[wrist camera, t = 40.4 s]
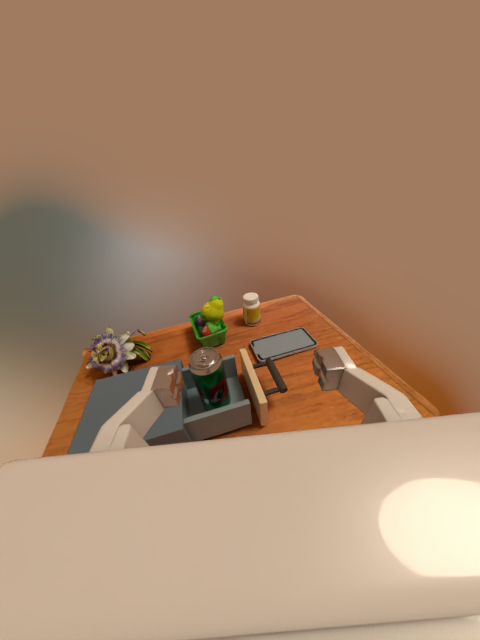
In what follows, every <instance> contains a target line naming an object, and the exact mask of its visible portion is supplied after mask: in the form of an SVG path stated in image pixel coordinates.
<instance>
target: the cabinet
mask: <svg viewBox="0 0 480 640" xmlns="http://www.w3.org/2000/svg"><path fill="white" fill-rule="evenodd" d="M168 365H178V367H179V372H180V373H181V374H182V368H184V366H183V364H182V361H181V359H177V360H173V361H169V362H165V363H162V364H158V365H154V366H150V367H146V368H142V369H138V370H134V371H130V372H126V373H122V374H118V375H115V376H111V377H107V378H103V379H99V380H96V381H95V383H94V386H93V388H92V391H91V394H90V396H89V399H88V401H87V404H86V407H85V409H84V412H83V414H82V417H81V419H80V422H79V425H78V427H77V430H76V432H75V435H74V438H73V440H72V443H71V445H70V448H69V450H68V453H67V455H69V454H78V453H88V452H89V451H90V449H91V447H92V445H93V442H94V440H95V438H96V436H97V434H98V432H99V430H100V428H101V426H102V425H103V424H104V423H105V422H106V421H107V420H109V419H110V418H111V417H112V416H113V415H114V414H115V413H116V412H117V411H118V410H119V409H120V408H121V407H122V406H123V405H125V404H126V403H127V402H128V401H129V400H130V399H131V398H132V397H133V396H134V395H135V394H136V393H137V392H139V391H141V390H142V387H143V384H144V382H145V379H146V377H147V374H148V372H149V369H150V368H151V367H158V366H168ZM180 395H181V399H180V403H179V406H177V407H169V408H164V411H163V412H162V413H161V415H160V416H159V417H158V419H157V420H156V421H155V423H154V424H153V425H152V427H151V428H150V429H149V431H148V432H147V433H146V435H145V436H144V437H143V439H144V440H145V441H146V442H147V444H148V445H149V446H156V445H166V444H176V443H186V442H192V440H191V438H190V436H189V434H188V433H187V431H186V429H185V427H184V413H183V389H182V390H181V391H180Z"/></svg>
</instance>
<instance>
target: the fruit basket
mask: <svg viewBox="0 0 480 640" xmlns="http://www.w3.org/2000/svg"><path fill="white" fill-rule="evenodd" d="M223 306H224V303H223V301H222V300H221V298H220V297H217V296H213V297H212V298H211V299H210V301H209V302H208V303H206V304H205V305H204V306H203V308H202V311H200V312H197V313H193V314H191V315H189V318H190V321H191V323H192V326H193V330H194V332H195V335H196V338H197V339H198V340H199V341H200V343H201V344H202V345H203V347H211V348H212V347H215V346H218V345H220V344H224V342H225V335H226V331H227V327H226V325H225V323H224V322H223V320H222V317H223V315H224V310H223Z"/></svg>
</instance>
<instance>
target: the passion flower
mask: <svg viewBox="0 0 480 640" xmlns="http://www.w3.org/2000/svg"><path fill="white" fill-rule="evenodd" d="M136 331H137V330H136ZM136 331H135V332H136ZM135 332H134V333H135ZM138 332H140V333H142V334H143V335H144V336H145V335H146V334H145V333H144V332H142V331H140V330H139V329H138ZM134 333H133V334H134ZM133 334H132V335H133ZM129 336H130V332H125V333H123V334H122V335H120V336H118V337H116V338H115V336H114V332H113V330H112V328H109V327H108V328H107V329H106V331H105V334H104V335H101V336H99V335H97V336H96V338H92V340H95V341H94V342H95V343H94V344H93V345H91V346H92V347H91V348H90V351H88V352H92V355H91V356H90V357H89V362H88V363H87V365H86V368H93V367H95V368H97V369H98V370H103V372H104V374H107V373H112V375H113V376H115V375H118V374H119V369H120V370H121V371H122V372H124V373H126V372H128V370H129V366H128V363H127V360H131V359H135V358H136V355H138V356H139V357H140V358H142V359H143V360H145V361H147V360H150V356H149V355H148V353H147V352H146V351H145V350H144V349H142V348H140V347H137V346H135V345H138V346H141V347H143V348H146V349H148V350H149V351H151V352H152V350H151V348H150V346H149V345H148V344H147V343H144V342H141V341H135V340H130V339H129Z"/></svg>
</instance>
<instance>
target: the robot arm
mask: <svg viewBox="0 0 480 640" xmlns="http://www.w3.org/2000/svg"><path fill="white" fill-rule="evenodd" d="M314 355H315V357H314V358H313V362H312V364H313V370H314V373H315V375H317V376H318V377H319V379H318V382H319V384H320V386H321V389H322V391H328V390H337V391H339V392H340V393H341V394H342V395H343V396H344V397H345V398H347V399H348V400H349V401H350V402H351V403H352V404H354V405H355V406H356V407H357V408H358V409H359V410H361V411H362V412H363V413H364V414H365V417H364V419H363V421H362V423H361V424H360V425H350V426H341V427H331V428H321V429H311V430H302V431H292V432H282V433H273V434H263V435H253V436H243V437H234V438H224V439H214V440H205V441H195V442H186V443H176V444H166V445H156V446H149V445H148V444H147V442H146V441H145V440H144V439H143V437H144V436H145V435H146V433H147V432H148V431H149V429H150V428H151V427H152V425H153V424H154V423H155V421H156V420H157V419H158V417H159V416H160V415H161V413H162V412H163V411H164V408H169V407H177V406H179V403H180V399H181V395H180V391H181V390H182V389H183V376H182V374H181V373H180V372H179V367H178V365H168V366H158V367H151V368H150V369H149V372H148V374H147V377H146V379H145V382H144V384H143V387H142V390H141V391H139V392H137V393H136V394H135V395H134V396H133V397H132V398H131V399H130V400H129V401H128V402H127V403H126V404H125V405H123V406H122V407H121V408H120V409H119V410H118V411H117V412H116V413H115V414H114V415H113V416H112V417H111V418H110V419H109V420H107V421H106V422H105V423H104V424H103V425H102V426H101V428H100V430H99V432H98V434H97V436H96V438H95V440H94V442H93V445H92V447H91V449H90V451H89V452H88V453H78V454H69V455H59V456H49V457H39V458H30V459H20V460H14V461H10V462H7V463H5V464H3V465H1V466H0V640H480V412H476V413H466V414H457V415H447V416H438V417H428V418H423V417H422V416H421V414H420V413H419V412H418V411H417V409H416V408H415V407H414V406H413V404H412V403H411V402H410V401H409V399H408V398H407V397H406V396H405V394H403V393H401V392H400V391H398V390H396V389H395V388H393V387H391V386H390V385H388V384H386V383H385V382H383V381H381V380H379V379H378V378H376V377H374V376H373V375H371V374H369V373H368V372H366V371H364V370H363V369H361V368H357V367H356V366H355V364H354V363H353V361H352V360H351V358H350V357H349V355H348V354H347V352H346V351H345V349H344V348H343V347H342V346H339V347H330V348H322V349H315V351H314Z"/></svg>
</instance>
